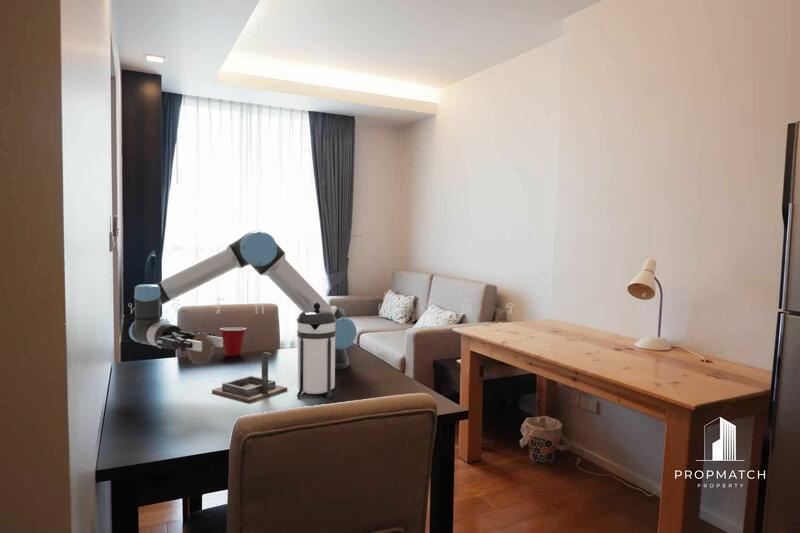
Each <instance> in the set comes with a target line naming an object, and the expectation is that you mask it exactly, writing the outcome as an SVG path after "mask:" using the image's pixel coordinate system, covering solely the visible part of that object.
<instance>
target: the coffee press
mask: <svg viewBox="0 0 800 533" xmlns="http://www.w3.org/2000/svg"><path fill="white" fill-rule="evenodd" d="M313 307H314V309H315V310H308V311H304V312H302V311H301V313H300V314H299V315H298V317H297V318H296V322H297V330H296V337H297V388H298V393H297V394H296V397H297V398H298V399H300V400H303V398H304V397H305V395H306V394H310V395H318V394H324V395H325V396H326V398H327V399H332V398H334V394H333V391H332V389H333V390H335V386H336V379H335V378H336V370H335V336H336V329H335V323H336V321H337V319H336V318H335V315H334V314H333V313H332V312H330V311H326V310H319V308H320V304H319V303H315V304H314V306H313Z"/></svg>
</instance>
